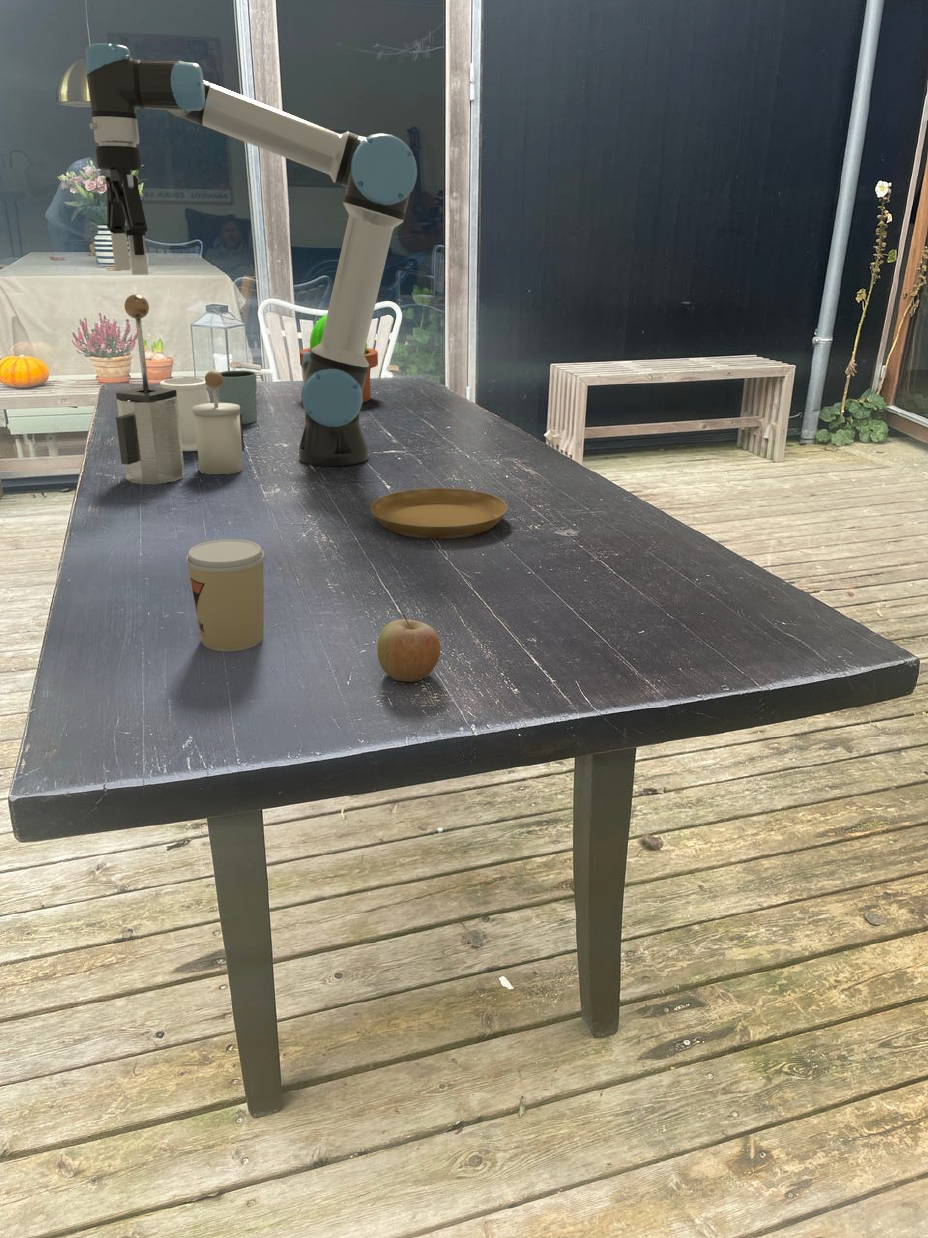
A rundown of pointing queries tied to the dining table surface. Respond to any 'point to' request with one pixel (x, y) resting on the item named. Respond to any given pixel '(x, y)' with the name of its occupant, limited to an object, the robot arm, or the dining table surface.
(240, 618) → the coffee cup
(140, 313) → the plunger
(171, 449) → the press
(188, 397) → the jar
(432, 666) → the fruit
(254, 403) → the teal pot
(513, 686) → the dining table surface
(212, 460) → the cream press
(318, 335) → the potted cactus
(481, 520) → the plant saucer
